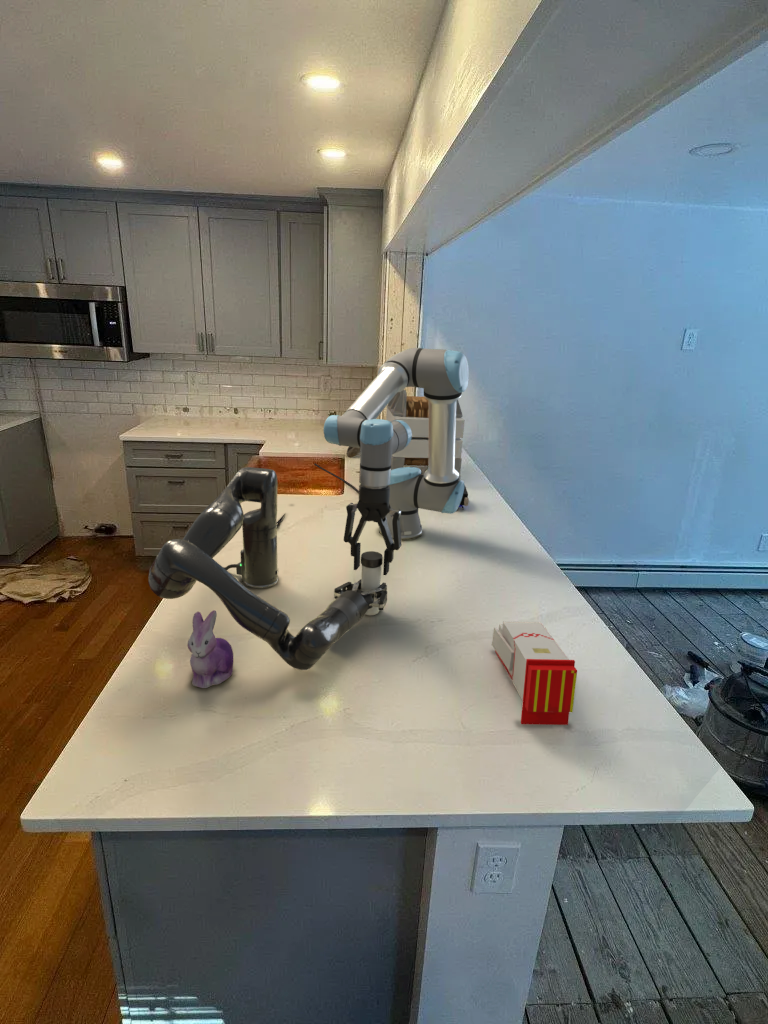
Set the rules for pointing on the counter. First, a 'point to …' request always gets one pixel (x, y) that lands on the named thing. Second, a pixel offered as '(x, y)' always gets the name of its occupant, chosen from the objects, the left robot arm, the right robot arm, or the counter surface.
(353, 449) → the fossil
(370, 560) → the lid
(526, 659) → the toy
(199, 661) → the figurine
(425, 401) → the white wooden crate
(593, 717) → the counter surface
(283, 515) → the feather
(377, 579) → the jar
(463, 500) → the figurine character
